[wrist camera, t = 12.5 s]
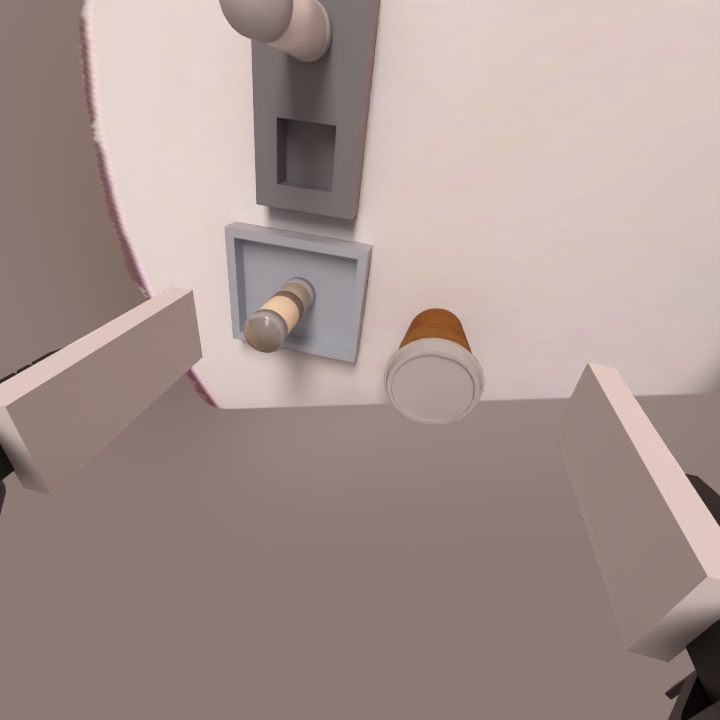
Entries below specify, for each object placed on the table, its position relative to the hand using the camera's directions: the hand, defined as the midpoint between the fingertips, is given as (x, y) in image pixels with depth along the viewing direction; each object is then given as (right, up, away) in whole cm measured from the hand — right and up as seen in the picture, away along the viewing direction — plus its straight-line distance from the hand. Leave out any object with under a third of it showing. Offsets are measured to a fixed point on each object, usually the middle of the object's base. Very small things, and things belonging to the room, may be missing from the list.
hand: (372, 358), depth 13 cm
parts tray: (-8, +8, +34) cm, 35 cm away
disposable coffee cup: (+9, +3, +33) cm, 34 cm away
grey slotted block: (-4, +24, +23) cm, 34 cm away
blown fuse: (-8, +8, +33) cm, 35 cm away
